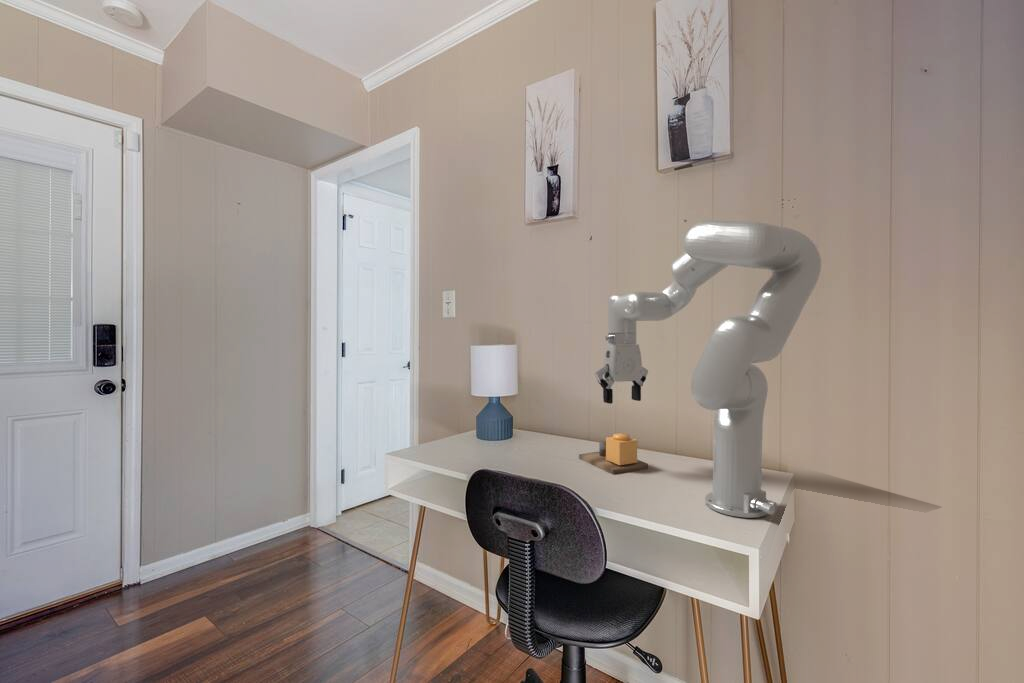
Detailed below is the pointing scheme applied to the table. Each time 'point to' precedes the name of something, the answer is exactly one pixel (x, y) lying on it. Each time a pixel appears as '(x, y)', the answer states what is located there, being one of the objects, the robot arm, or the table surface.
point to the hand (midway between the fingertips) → (622, 401)
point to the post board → (601, 462)
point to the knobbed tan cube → (621, 449)
